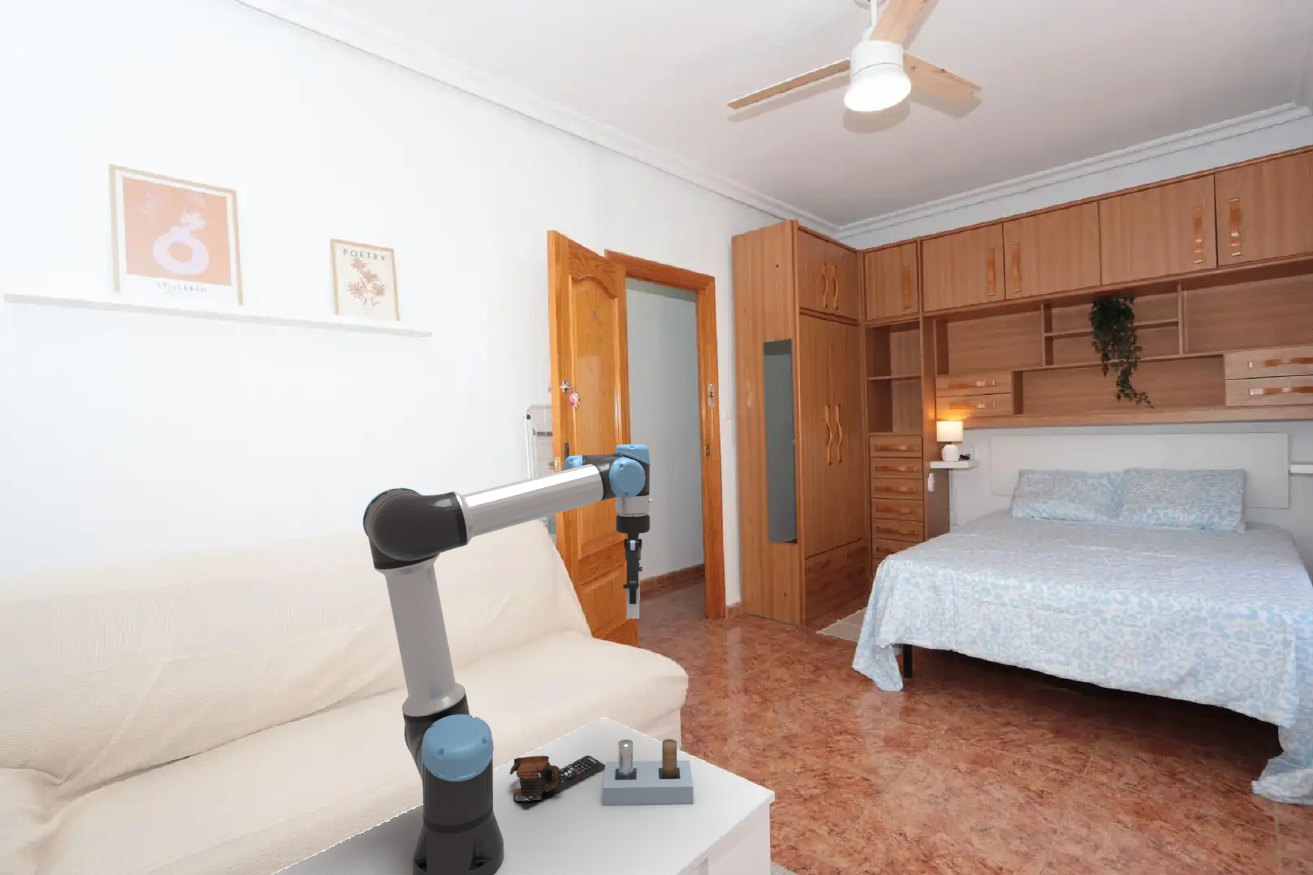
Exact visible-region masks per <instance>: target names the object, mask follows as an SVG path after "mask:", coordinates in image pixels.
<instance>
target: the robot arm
mask: <svg viewBox="0 0 1313 875" xmlns="http://www.w3.org/2000/svg"><path fill="white" fill-rule="evenodd" d="M650 461H651V458H650V450H649V447H648V446H647V445H645V444H639V443H638V444H637V443H636V444H635V443H633V444H618V445H616V447H615V450H614V453H609V454H578V455H570V456H568V457H566V458H565V460H564V462H563V465H562V470H560V471H556V472H555V471H554V472H551V473H547V474H544V475H539V476H536V477H531V478H527V479H524V480H520V481H519V480H518V481H516V482H511V483H507V484H503V485H500V486H498V485H497V486H494V487H490V488H486V489H482V490H478V491H475V492H471V493H470V492H469V493H466V494H461V493H458V492H457V491H455V490H454V491H453V490H452V491H450V492H449V491H448V492H446V493H441V494H429V495H425V494H421V493H420V492H418V491H417V490H414V489H412V488H406V487H399V488H398V487H396V488H395V487H393V488H389V489H386V490H383V491H381V492H380V493H378V494H377V495H375V496H374V497H373V498H371V500H370V502H368V504H367V506H366V508H365V511H364V513H363V516H362V526H363V530H364V533H365V534H366V536H367V537H368V542H369V548H370V553H371V558H372V563H373V568H374V570H375V571H377V572H378V573H381V574H382V575H383V576H384V577H385V582H386V588H387V591H388V598H389V602H390V607H391V613H392V617H393V618H392V619H393V623H394V629H395V634H396V639H397V644H398V648H399V654H400V658H401V666H402V670H403V675H404V679H405V685H406V689H407V695H408V696H407V698H406V699H405V701H403V703H402V705H401V711H402V716H403V721H404V733H403V736H404V741H405V745H406V746H407V750H408V751H409V753H410V755H411V757H412V760H413V762H414V764H415V766H416V769H417V772H418V774H419V776H420V779H421V783H422V812H423V813H422V814H423V816H422V818H423V819H422V826H421V830H420V832H419V836H418V840H417V842H416V846H415V849H414V851H413V857H412V875H494V874H495V873H496V872H497V871H498V869H499V868H500V867H501V865H502V863H503V860H504V856H505V850H504V849H505V846H504V845H505V844H504V843H505V842H504V838H503V837H504V836H503V835H502V832H501V829H500V826H499V824H498V820H497V818H496V816H495V812H494V767H493V766H494V764H493V763H494V760H493V759H494V750H495V749H494V740H493V735H492V734H493V733H492V730H491V727H490V726H489V724H488V722H486V721H485V720H484V719H482V718H480V717H478V716H475V717H473V715H471V714H470V708H469V703H468V698H467V692H466V688H465V687H464V686H463V685H462V684H460V683H458V682H457V681H456V679H455V673H454V668H453V663H452V656H451V653H450V648H449V647H450V646H449V641H448V635H447V631H446V630H447V629H446V624H445V619H444V614H443V608H442V603H441V599H440V594H439V587H438V581H437V576H436V570H435V562H436V561H437V560H438V558H439V557H440V555H441V554H442V553H445V552H448V551H451V550H454V549H458V548H461V547H464V546H465V547H466V546H468V544H469V543H470V541H471V540H472V538H475V537H477V536H482V535H486V534H488V533H493V532H495V531H498V530H502V529H503V530H504V529H507V528H510V527H514V526H518V525H520V524H525V523H528V522H532V521H534V520H535V521H536V520H538V519H541V518H545V517H548V516H552V515H553V516H554V515H556V514H560V513H564V512H567V511H571V510H574V509H576V508H577V509H578V508H581V507H585V506H588V505H592V504H596V503H600V502H603V501H607V500H610V499H613V498H614V499H615V512H616V513H617V515H616V516H615V530H616V532H617V533H620V534H627V538H624V541H623V548H624V559H625V561H626V583H624V584H623V586H622V588H623V589H626V591H625V594H626V600H625V601H626V604H625V605H626V619H628V620H629V619H630V620H631V619H633V620H634V619H635V620H636V619H637V620H638V619H640V600H641V577H640V576H641V574H640V573H641V572H643V566H640V561H641V560H642V559H641V558H642V556H641V555H642V548H643V539H642V538H640V534H645V533H648V532H649V531H650V530H651V516H650V515H649V514H648V513H650V509H651V508H650V506H651V505H650V504H652V503H653V498H650V495H651V494H650V484H651V482H650V480H651V478H650V477H651V476H650V474H651V473H650V472H651V471H650V468H651V467H650V466H651V462H650Z"/></svg>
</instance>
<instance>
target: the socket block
mask: <svg viewBox="0 0 1313 875" xmlns="http://www.w3.org/2000/svg"><path fill="white" fill-rule="evenodd" d="M689 804H690V805H691V804H694V785H693V778H692V771H691V763H690V760H686V759H685V760H677V779H662V760H644V761H643V760H641V761H640V760H639V761H635V760H633V780H619V761H605V764H604V773H603V782H602V806H631V805H632V806H633V805H634V806H635V805H636V806H637V805H638V806H639V805H640V806H642V805H689Z"/></svg>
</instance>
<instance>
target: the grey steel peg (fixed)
mask: <svg viewBox="0 0 1313 875" xmlns="http://www.w3.org/2000/svg"><path fill="white" fill-rule="evenodd" d="M633 761H634V742H633V740H632V739H631V740H630V739H628V738H627V739H622V740H619V741H618V762H619V780H633Z"/></svg>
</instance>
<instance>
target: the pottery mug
mask: <svg viewBox="0 0 1313 875" xmlns="http://www.w3.org/2000/svg"><path fill="white" fill-rule="evenodd" d="M549 759H550V757H549V756H548V755H532V756H523V757H522V756H521V757H517V758H514V759H513V765H512V767H511V768H510V771H509V775H513V774H514V773H515V772H516V774H515V775H516V777H517V778H519V779H518V780H519V786H520V788H518V789H517V788H515V789H514V790H513V791H512V793H513V799H515V797H516V796H536V795H540V794H542V793H543V794H544V792H545V793H546V792H548V791H550V790H551V791H552V789H555V788H556V787H557V786H558V784H559V782H560V780H561V778H562V771H561V769H560V768H559V766H557V765H554V764H551V763H550V762H549ZM551 791H550V792H551ZM543 794H542V795H543ZM514 802H515V800H514Z"/></svg>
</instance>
